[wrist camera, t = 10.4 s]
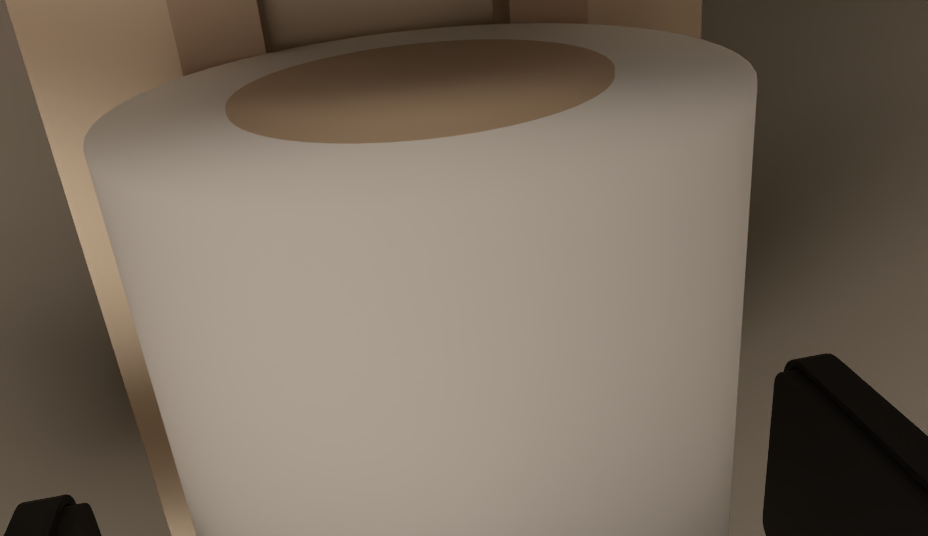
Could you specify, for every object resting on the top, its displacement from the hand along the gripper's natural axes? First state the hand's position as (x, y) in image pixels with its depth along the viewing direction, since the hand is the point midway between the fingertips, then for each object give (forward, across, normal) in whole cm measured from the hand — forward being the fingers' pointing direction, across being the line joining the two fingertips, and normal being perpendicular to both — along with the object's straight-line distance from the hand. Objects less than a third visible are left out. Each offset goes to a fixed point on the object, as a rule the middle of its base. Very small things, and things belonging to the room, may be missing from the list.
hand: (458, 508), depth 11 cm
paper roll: (+2, 0, 0) cm, 2 cm away
